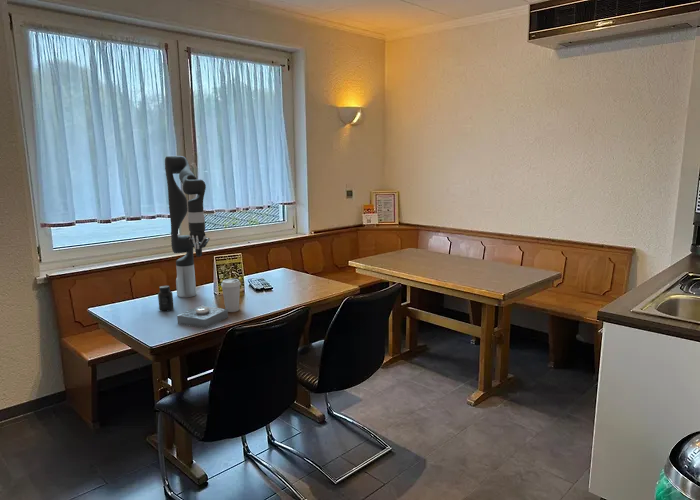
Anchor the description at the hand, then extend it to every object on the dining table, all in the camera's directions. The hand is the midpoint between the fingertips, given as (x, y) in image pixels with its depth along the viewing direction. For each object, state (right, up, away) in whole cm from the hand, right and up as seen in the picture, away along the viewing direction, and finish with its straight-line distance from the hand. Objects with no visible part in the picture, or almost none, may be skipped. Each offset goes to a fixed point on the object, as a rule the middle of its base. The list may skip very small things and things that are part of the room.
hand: (199, 256), depth 243 cm
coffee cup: (+16, -27, +3) cm, 31 cm away
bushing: (+6, -29, -12) cm, 32 cm away
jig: (+6, -30, -12) cm, 33 cm away
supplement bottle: (-18, -27, +4) cm, 33 cm away
